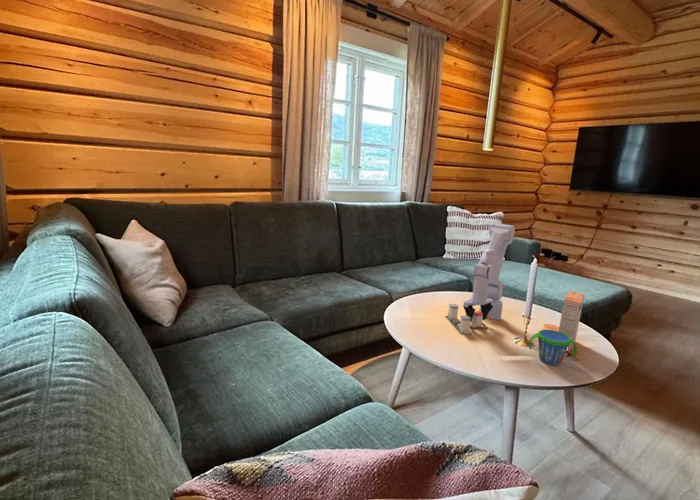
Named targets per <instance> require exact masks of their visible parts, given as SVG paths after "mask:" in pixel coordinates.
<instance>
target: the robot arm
mask: <svg viewBox="0 0 700 500" xmlns="http://www.w3.org/2000/svg"><path fill="white" fill-rule="evenodd" d="M515 231H516V229H515V226H514V224H513V225H512V224H503V223H497V222H492V223H491V224H490V227H489V230H488V232H489V237H490V241H489V243H488V247H487V249H485V250H483V252H482V255H481V257H480V258H479V259H480V260H479V262H478V263H475V265H474V268H473V281H474V282H473V288H472V289H473V290H472V297H470V299H468V300H465V301H463V306H462V307H463V308H464V312H465V316H469V317H470V318H471V322H472V318H473V314H474V312H475V311H477V310H476V308H474V306H479V309H478V311H479V312H481V313H483V318H482V321H486V318H490V319H491V318H492V319H494V321H495V320H496V321H498V320H499V321H501V320H502V312H503V302H502V300H501V299H502V296H503V292H504V291H503V289H504V284H503V283H502V281H500V278H499V277H500V274H501V269H502V268H503V267H502V266H503V261H504V257H505V253H506V249H507V248H508V245H512V243H513V241H514V237H515ZM471 322H470V323H471Z"/></svg>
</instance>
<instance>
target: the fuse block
mask: <svg viewBox="0 0 700 500" xmlns="http://www.w3.org/2000/svg"><path fill="white" fill-rule="evenodd" d="M444 317H445V318H446V320H447V321H448V322H449V323H450V324H451V325H452V327H454V328H455V330H456V331H457V332H458V333H459V335H462V336H465V335H467V336H470V335H471V336H472V335H473V333H472V332H471V331H470V330H469V331H463V333H462V332H461V331H460V330H459V328H460V320H459V318H458V317H457V318H451V320H450V319H449V318H448V315H444Z"/></svg>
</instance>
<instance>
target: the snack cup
mask: <svg viewBox="0 0 700 500" xmlns="http://www.w3.org/2000/svg"><path fill="white" fill-rule="evenodd" d="M535 338H537V339H538V358H539V359H540V361H542V362H543V363H545V364H548V365H554V366H559V365H560V364H562V362H563V361H564V357H565V355H566V350H567V347H568V346H569V344H570V343H571V342H572V343H573V344H574V346H573V349H572V352H571V355H572V357H576V355H577V349H578V348H577V344H576V341H575V342H574V341H573V340H572V339H570V337H569V336H567V335H566V334H564V333H561V332H559V330H554V329H540V330H539V331H538V332H537V333H534V334H533V335H532V336H531V337H530V338H529V341H528V347H529V350H532V341H533V340H534V339H535Z"/></svg>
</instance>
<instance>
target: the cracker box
mask: <svg viewBox="0 0 700 500" xmlns="http://www.w3.org/2000/svg"><path fill="white" fill-rule="evenodd" d="M584 299H585V294H584V293H582V292H581V293H579V292H576V291H572V290H571V291H570V290H569V291H568V293H567V294H566V296H565V298H564V300H563V305H562V310H561V316H560V323H559V327H558V328H559V329H558V332H561V333H564V334H566V335H567V336H569V337H570V339H572V340H573V341H574V342H575V343H576V339H577V334H578V329H579V324H580V320H581V315H582V309H583V304H584ZM573 349H574V344H573V343H572V342H571V343H570V344H569V346H568V352H567V353H569V354H572V353H573Z"/></svg>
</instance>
